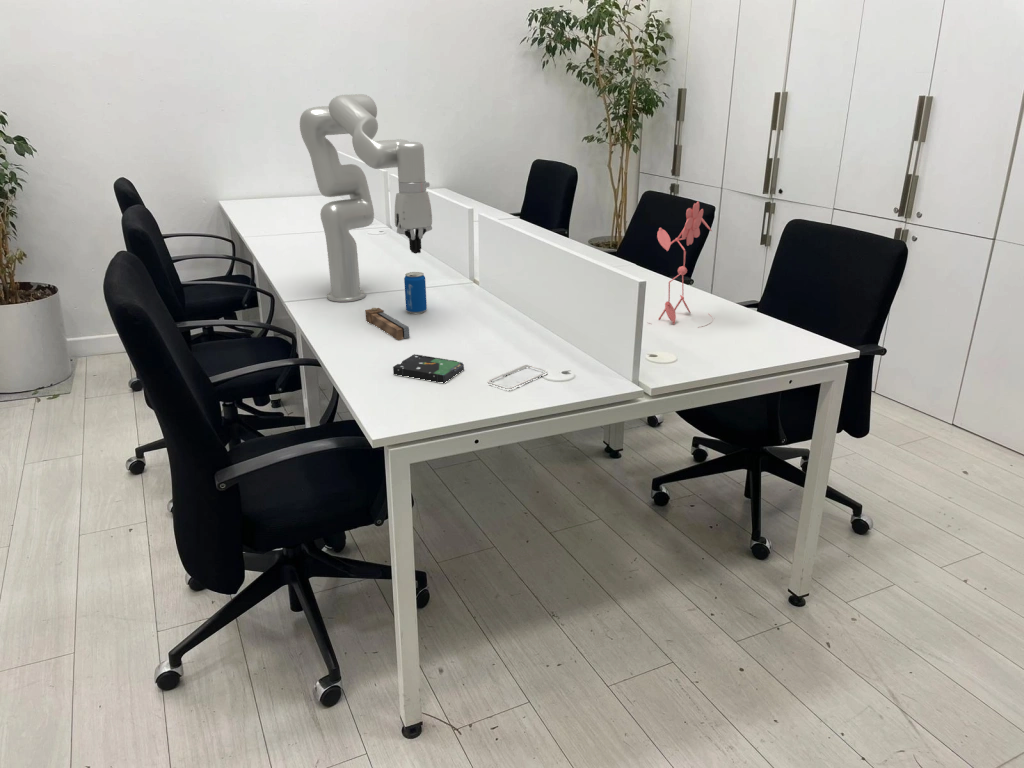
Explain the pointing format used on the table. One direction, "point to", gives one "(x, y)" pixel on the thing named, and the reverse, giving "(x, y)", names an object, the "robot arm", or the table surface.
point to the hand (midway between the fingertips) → (415, 252)
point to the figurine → (690, 232)
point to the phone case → (515, 371)
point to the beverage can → (415, 292)
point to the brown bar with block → (383, 323)
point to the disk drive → (428, 368)
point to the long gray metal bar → (399, 324)
